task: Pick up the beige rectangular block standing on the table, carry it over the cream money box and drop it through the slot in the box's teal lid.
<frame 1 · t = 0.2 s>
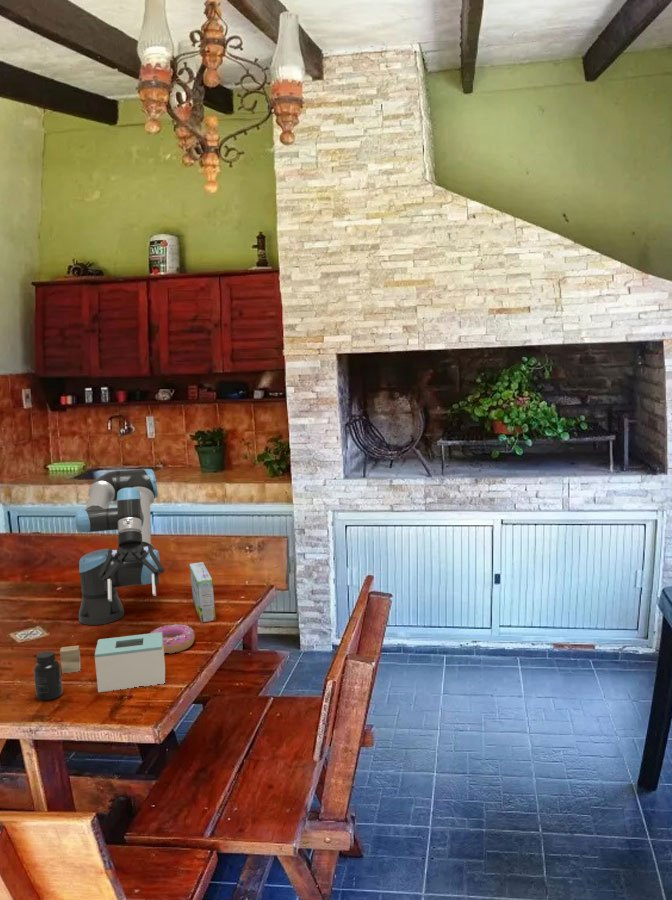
hand: (132, 597, 244), 16 cm above the table, tool tilted 35°, fingers open, 13 cm apart
donut: (172, 646, 245), on the table
beige rectangular block: (71, 670, 230), on the table
supplement bottle: (49, 696, 214), on the table
money box: (132, 679, 222), on the table
snack box: (203, 612, 273), on the table
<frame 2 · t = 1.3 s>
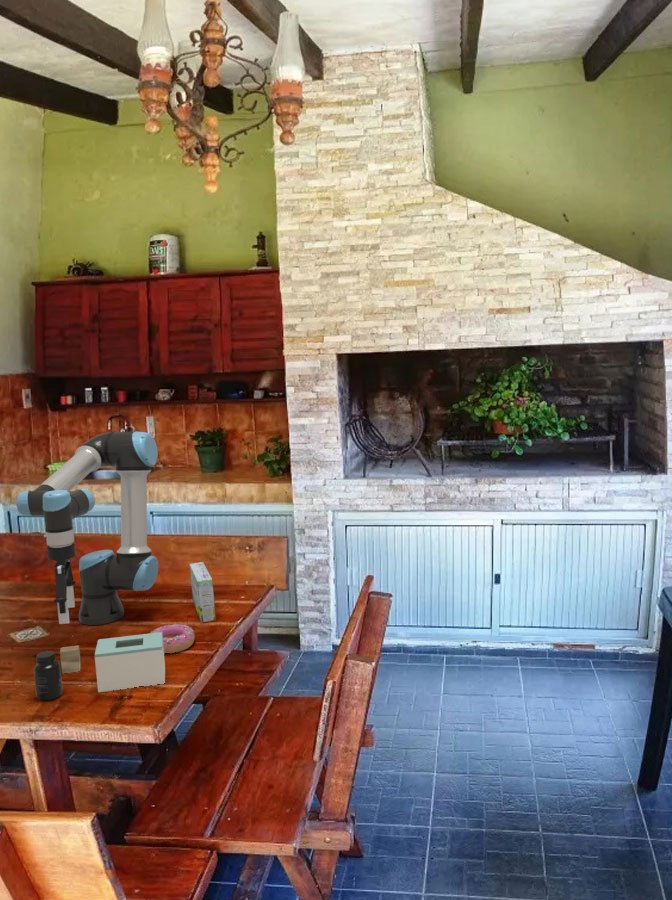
hand: (67, 615, 227), 17 cm above the table, tool pointing down, fingers open, 13 cm apart
nothing on the table moved.
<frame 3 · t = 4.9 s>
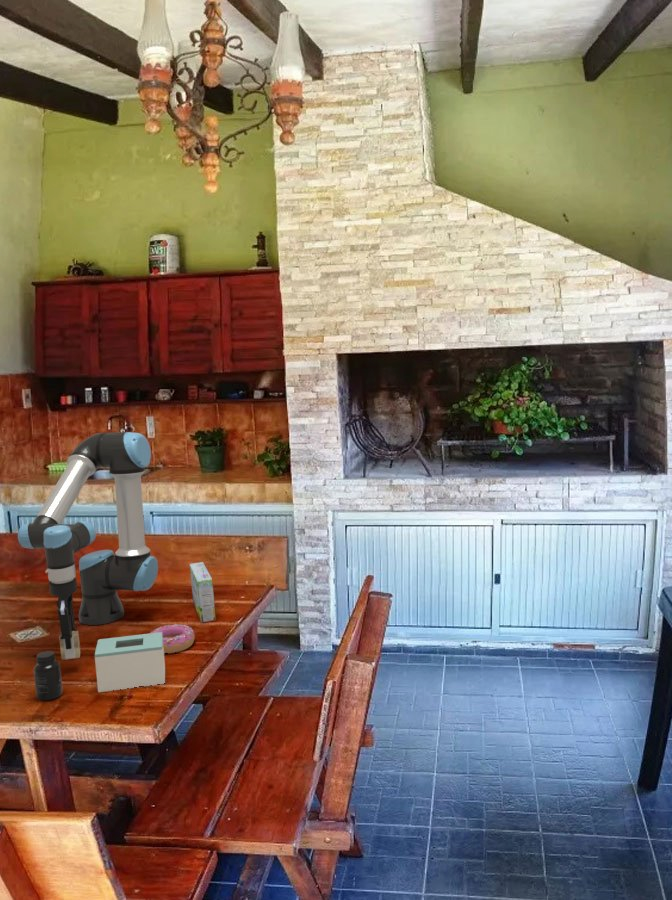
hand: (71, 655, 229), 5 cm above the table, tool pointing down, fingers closed on beige rectangular block, 3 cm apart
beige rectangular block: (71, 656, 229), point 4 cm above the table, touching gripper
everything else where it was.
when the fingers open (13 cm above the table, at t = 8.5 s): beige rectangular block drops 13 cm, resting in money box.
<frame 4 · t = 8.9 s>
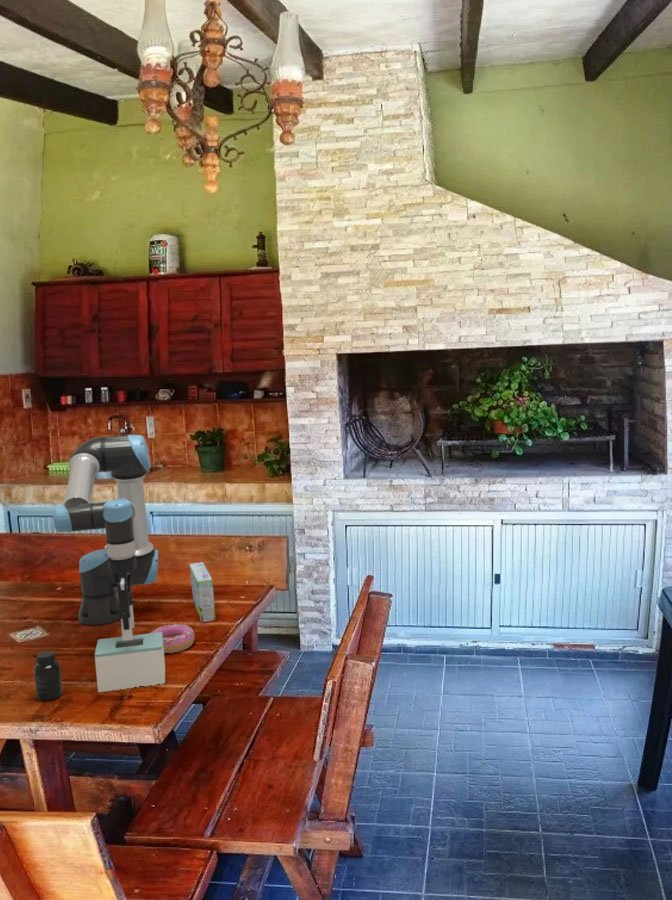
hand: (128, 633, 220), 14 cm above the table, tool pointing down, fingers open, 8 cm apart
beige rectangular block: (132, 679, 222), resting in money box
everything else where it was.
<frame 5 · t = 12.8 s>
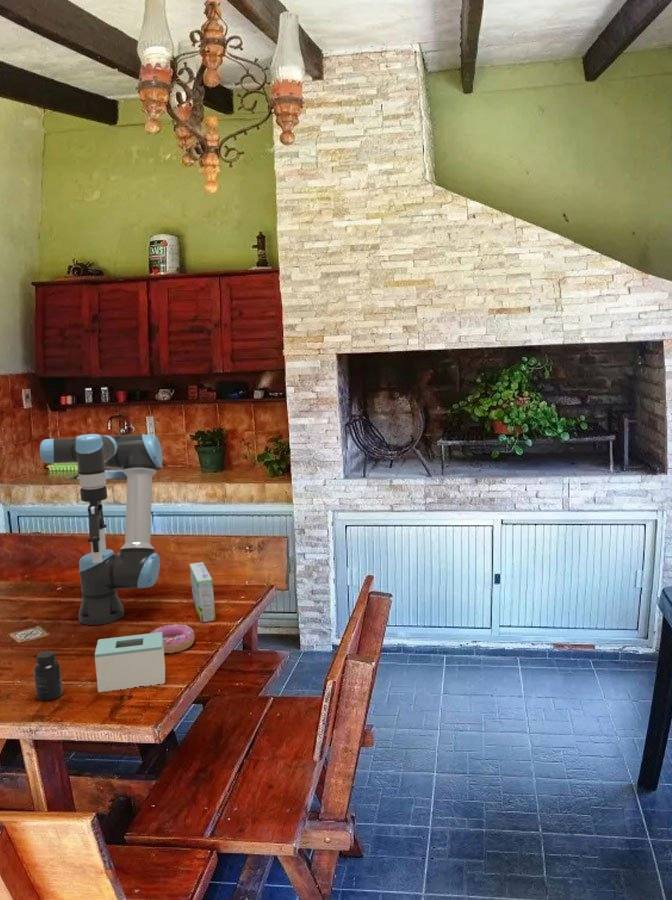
hand: (99, 556, 234), 32 cm above the table, tool pointing down, fingers open, 13 cm apart
nothing on the table moved.
at the end: beige rectangular block inside the target area on the money box (0.1 cm from its centre), point 0.0 cm above the money box's base; the gripper is holding nothing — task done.
